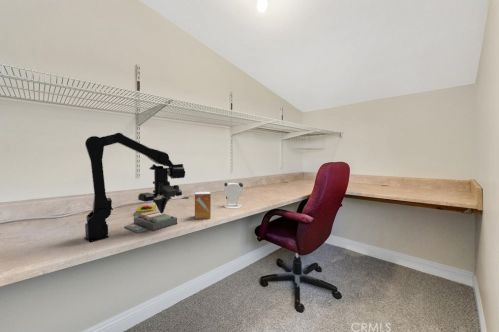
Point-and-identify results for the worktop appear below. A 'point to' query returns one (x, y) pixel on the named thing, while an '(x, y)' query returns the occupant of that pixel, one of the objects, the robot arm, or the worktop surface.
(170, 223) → the keypad housing
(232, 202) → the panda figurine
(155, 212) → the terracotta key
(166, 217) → the sage key
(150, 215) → the offwhite key
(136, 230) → the card
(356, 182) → the worktop surface
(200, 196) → the small box
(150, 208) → the emergency button
